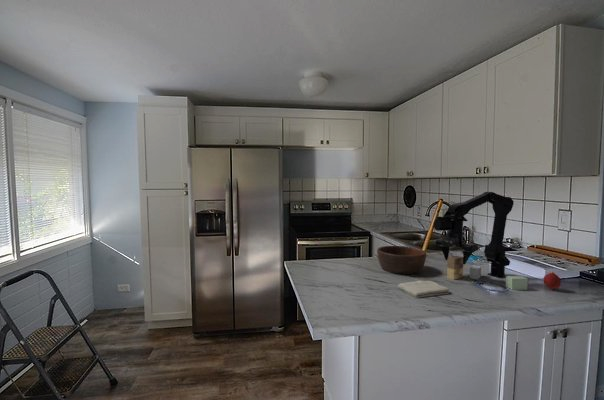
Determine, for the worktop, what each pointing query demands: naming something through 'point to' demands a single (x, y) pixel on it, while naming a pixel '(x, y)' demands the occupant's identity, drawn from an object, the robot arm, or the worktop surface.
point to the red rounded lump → (552, 280)
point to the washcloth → (423, 288)
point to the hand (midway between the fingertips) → (455, 262)
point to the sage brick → (516, 282)
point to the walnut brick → (455, 262)
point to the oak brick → (454, 273)
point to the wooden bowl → (401, 259)
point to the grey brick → (475, 272)
